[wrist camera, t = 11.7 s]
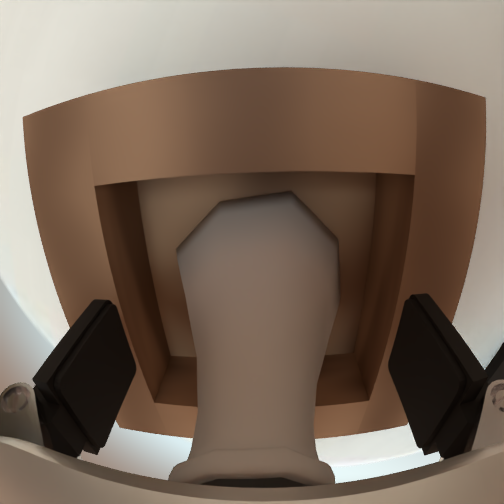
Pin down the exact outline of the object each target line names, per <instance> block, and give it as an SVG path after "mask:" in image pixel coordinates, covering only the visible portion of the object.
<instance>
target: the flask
mask: <svg viewBox="0 0 504 504" xmlns="http://www.w3.org/2000/svg"><path fill="white" fill-rule="evenodd" d="M176 253H177V260H178V265H179V270H180V274H181V279H182V283H183V288H184V292H185V297H186V302H187V308H188V314H189V319H190V324H191V330H192V335H193V340H194V345H195V350H196V355H197V399H198V414H197V419H196V425H195V431H194V436H193V442H192V447H191V451H190V454H189V457H188V459H187V461H184V462H182V463H179V464H177V465H176V466H175V467H174V468H173V470H172V471H171V473H170V475H169V479H168V481H175V482H182V483H190V484H198V485H208V486H221V487H239V488H287V487H305V486H317V485H328V484H335V476H334V474H333V471H332V469H331V467H330V466H329V465H328V464H327V463H325V462H322V461H319V459H318V455H317V452H316V446H315V436H314V426H313V425H314V414H315V402H316V388H317V382H318V378H319V375H320V371H321V367H322V364H323V360H324V356H325V352H326V348H327V344H328V340H329V336H330V333H331V330H332V327H333V323H334V320H335V317H336V313H337V310H338V307H339V302H340V297H341V294H340V264H339V244H338V238H337V237H336V236H335V235H334V234H333V233H332V232H331V231H330V230H329V229H328V228H327V227H326V226H325V225H324V224H323V223H322V222H321V220H320V219H319V218H318V217H317V216H316V215H315V214H314V213H313V212H312V211H311V210H310V209H309V208H308V207H307V206H306V205H305V204H304V203H303V202H302V201H301V200H300V199H299V198H298V197H297V196H296V195H295V194H294V193H293V192H292V191H287V192H280V193H273V194H266V195H259V196H252V197H245V198H239V199H233V200H226V201H220V202H219V203H218V204H217V205H216V206H215V207H214V208H213V209H212V210H211V211H210V212H209V213H208V214H207V216H206V217H205V218H204V219H203V220H202V221H201V222H200V223H199V224H198V225H197V226H196V227H195V229H194V230H193V231H192V232H191V233H190V234H189V235H188V236H187V237H186V238H185V240H184V241H183V242H182V243H181V244H180V245H179V246H178V247H177V248H176Z"/></svg>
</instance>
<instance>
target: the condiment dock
mask: <svg viewBox="0 0 504 504" xmlns="http://www.w3.org/2000/svg"><path fill="white" fill-rule="evenodd" d="M23 130H24V142H25V152H26V161H27V169H28V176H29V182H30V189H31V194H32V200H33V205H34V210H35V215H36V220H37V224H38V229H39V233H40V237H41V241H42V245H43V249H44V252H45V256H46V259H47V263H48V266H49V270H50V273H51V276H52V279H53V283H54V286H55V289H56V292H57V295H58V297H59V300H60V303H61V306H62V309H63V311H64V314H65V317H66V319H67V322H68V324H69V327H70V328H71V327H72V325H73V324H74V323H75V322H76V320H77V319H78V318H79V317H80V315H81V314H82V313H83V312H84V310H85V309H86V308H87V307H88V306H89V304H90V303H91V302H92V301H93V300H94V299H102V300H110V301H111V302H112V303H113V304H114V305H116V306H117V309H118V312H119V315H120V319H121V322H122V325H123V328H124V331H125V334H126V337H127V340H128V343H129V346H130V349H131V352H132V354H133V357H134V360H135V363H136V374H135V376H134V378H133V380H132V383H131V385H130V387H129V390H128V392H127V394H126V396H125V399H124V401H123V403H122V406H121V408H120V410H119V413H118V415H117V417H116V422H117V423H118V425H119V427H120V428H125V429H130V430H136V431H142V432H148V433H154V434H161V435H169V436H177V437H186V438H193V436H194V431H195V425H196V419H197V414H198V399H197V355H196V350H195V345H194V340H193V335H192V330H191V324H190V319H189V314H188V308H187V302H186V297H185V292H184V288H183V283H182V279H181V274H180V270H179V265H178V260H177V253H176V248H177V247H178V246H179V245H180V244H181V243H182V242H183V241H184V240H185V238H186V237H187V236H188V235H189V234H190V233H191V232H192V231H193V230H194V229H195V227H196V226H197V225H198V224H199V223H200V222H201V221H202V220H203V219H204V218H205V217H206V216H207V214H208V213H209V212H210V211H211V210H212V209H213V208H214V207H215V206H216V205H217V204H218V203H219V202H220V201H226V200H233V199H239V198H245V197H252V196H259V195H266V194H273V193H280V192H287V191H292V192H293V193H294V194H295V195H296V196H297V197H298V198H299V199H300V200H301V201H302V202H303V203H304V204H305V205H306V206H307V207H308V208H309V209H310V210H311V211H312V212H313V213H314V214H315V215H316V216H317V217H318V218H319V219H320V220H321V222H322V223H323V224H324V225H325V226H326V227H327V228H328V229H329V230H330V231H331V232H332V233H333V234H334V235H335V236H336V237H337V238H338V244H339V264H340V294H341V297H340V302H339V307H338V310H337V313H336V317H335V320H334V323H333V327H332V330H331V333H330V336H329V340H328V344H327V348H326V352H325V356H324V360H323V364H322V367H321V371H320V375H319V378H318V382H317V388H316V402H315V414H314V425H313V426H314V436H315V439H318V438H329V437H338V436H346V435H354V434H361V433H367V432H373V431H379V430H384V429H390V428H395V427H400V426H404V425H407V423H408V419H407V417H406V414H405V411H404V408H403V406H402V403H401V400H400V398H399V395H398V393H397V390H396V388H395V385H394V383H393V380H392V378H391V375H390V373H389V370H388V361H389V357H390V354H391V351H392V347H393V344H394V340H395V337H396V333H397V330H398V326H399V322H400V318H401V314H402V310H403V306H404V302H405V300H407V299H409V297H410V296H411V295H412V294H423V293H427V294H429V295H430V296H431V298H432V299H433V300H434V301H435V303H436V304H437V305H438V307H439V308H440V309H441V310H442V312H443V313H444V314H445V316H446V317H447V318H448V320H449V321H450V322H451V323H452V321H453V318H454V315H455V312H456V309H457V306H458V303H459V299H460V296H461V293H462V289H463V286H464V282H465V278H466V274H467V270H468V266H469V262H470V258H471V253H472V249H473V244H474V239H475V234H476V228H477V223H478V217H479V210H480V203H481V195H482V187H483V177H484V165H485V147H486V99H485V97H482V96H478V95H475V94H472V93H468V92H465V91H461V90H457V89H454V88H450V87H446V86H442V85H437V84H433V83H428V82H424V81H419V80H414V79H408V78H403V77H397V76H390V75H384V74H376V73H368V72H360V71H350V70H338V69H322V68H288V67H280V68H246V69H230V70H218V71H208V72H199V73H191V74H183V75H176V76H170V77H164V78H158V79H152V80H147V81H142V82H137V83H132V84H128V85H123V86H119V87H115V88H111V89H107V90H103V91H99V92H96V93H92V94H88V95H85V96H82V97H78V98H75V99H72V100H69V101H66V102H63V103H60V104H57V105H54V106H51V107H48V108H45V109H43V110H40V111H37V112H35V113H32V114H30V115H27V116H25V117H23Z"/></svg>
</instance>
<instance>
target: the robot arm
mask: <svg viewBox="0 0 504 504" xmlns="http://www.w3.org/2000/svg"><path fill="white" fill-rule="evenodd" d="M388 370H389V373H390V375H391V378H392V380H393V383H394V385H395V388H396V390H397V393H398V395H399V398H400V400H401V403H402V406H403V408H404V411H405V414H406V417H407V419H408V422H409V425H410V428H411V430H412V433H413V436H414V439H415V442H416V445H417V446H418V448H422V450H423V453H424V455H428V454H431V453H435V452H438V451H439V453H440V456H441V458H440V460H439V462H436V463H433V464H429V465H425V466H422V467H418V468H414V469H410V470H406V471H402V472H398V473H393V474H389V475H385V476H380V477H374V478H369V479H363V480H357V481H351V482H344V483H336V484H328V485H317V486H305V487H287V488H239V487H221V486H208V485H198V484H190V483H182V482H175V481H168V480H162V479H156V478H151V477H146V476H140V475H136V474H131V473H127V472H123V471H119V470H115V469H111V468H108V467H104V466H100V465H96V464H94V463H90V462H87V461H83V460H82V458H81V455H80V454H81V452H82V450H84V451H86V452H89V453H92V454H96V455H98V452H99V450H100V448H103V447H104V446H105V444H106V442H107V439H108V437H109V434H110V432H111V429H112V427H113V424H114V422H115V420H116V417H117V415H118V413H119V410H120V408H121V406H122V403H123V401H124V399H125V396H126V394H127V392H128V390H129V387H130V385H131V383H132V380H133V378H134V376H135V374H136V363H135V360H134V357H133V354H132V352H131V349H130V346H129V343H128V340H127V337H126V334H125V331H124V328H123V325H122V322H121V319H120V315H119V312H118V309H117V306H116V305H114V304H113V303H112V302H111V301H110V300H102V299H94V300H93V301H92V302H91V303H90V304H89V306H88V307H87V308H86V309H85V310H84V312H83V313H82V314H81V315H80V317H79V318H78V319H77V320H76V322H75V323H74V324H73V325H72V327H71V328H70V329H69V330H68V332H67V333H66V334H65V336H64V337H63V338H62V339H61V341H60V342H59V343H58V345H57V346H56V347H55V349H54V350H53V351H52V353H51V354H50V355H49V357H48V358H47V359H46V361H45V362H44V364H43V365H42V366H41V368H40V369H39V370H38V372H37V373H36V375H35V376H34V377H33V381H34V383H35V384H36V385H35V387H34V388H32V387H31V386H30V385H29V384H27V383H21V382H20V383H15V384H12V385H10V386H8V387H7V388H6V389H5V390H4V391H3V392H2V393H1V395H0V504H504V380H496V381H494V382H492V383H491V384H490V385H489V384H488V382H487V381H486V380H487V379H488V375H487V373H486V372H485V370H484V369H483V367H482V366H481V364H480V363H479V361H478V360H477V358H476V357H475V356H474V354H473V353H472V351H471V350H470V348H469V347H468V345H467V344H466V343H465V341H464V340H463V338H462V337H461V336H460V334H459V333H458V332H457V330H456V329H455V328H454V326H453V325H452V323H451V322H450V321H449V320H448V318H447V317H446V316H445V314H444V313H443V312H442V310H441V309H440V308H439V307H438V305H437V304H436V303H435V301H434V300H433V299H432V298H431V296H430V295H429V294H427V293H423V294H412V295H411V296H410V297H409V299H407V300H405V302H404V306H403V310H402V314H401V318H400V322H399V326H398V330H397V333H396V337H395V340H394V344H393V347H392V351H391V354H390V357H389V361H388Z"/></svg>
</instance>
